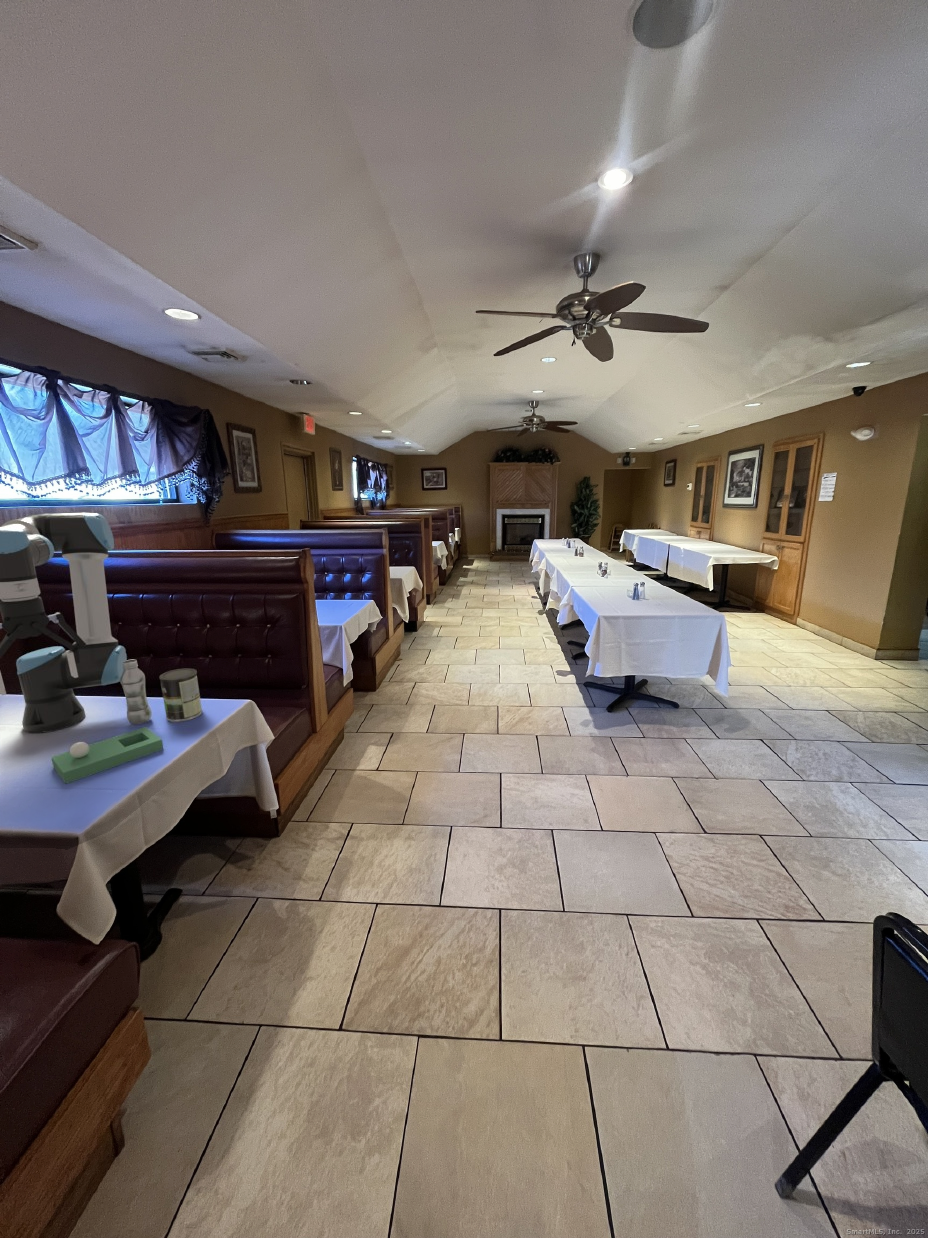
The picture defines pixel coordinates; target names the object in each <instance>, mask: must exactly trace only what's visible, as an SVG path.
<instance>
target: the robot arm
mask: <svg viewBox="0 0 928 1238" xmlns="http://www.w3.org/2000/svg"><path fill="white" fill-rule="evenodd" d="M114 548H115V538H114V535H113V531H112V529H111V526H110V524H109V523H108V520H107V519H106V517H104V515H102V514H100V513H96V512H65V513H39V514H33V515H32V514H31V515H29V516H23V517H20V518H15V519H10V520H8V521H6V522H5V523H3V524H2V525H1V526H0V615H1V623H0V630H1V629H3V630H4V631H5V632H7V633H6V634H5V635H4V637H3V639H2V640H1V641H0V660H1V659H2V658H3V656H4V655H5V653H6V652H7V651H8V650H9V648H10V647H11V645H12V644H13V643H15V642H16V640H17V639H21V640H23V639H24V640H25V639H27V638H30V637H31V638H35V637H39V636H40V635H42V634H44V635H45V636H47V637H49V638H51V639H52V640H54V641H56V642H57V643H59V644H60V646H58V645H57V646H50V647H45V648H41V649H37V650H34V651H31V652H27V653H26V654H24V655H22V656H20V657H19V658H17V659H16V663H15V664H16V669H17V671H16V673H17V676H18V680H19V684H20V687H21V691H22V696H23V699H24V703H25V704H24V705H25V707H24V712H23V716H22V721H21V722H22V724H21V725H22V728H23V731H24V732H26V733H29V734H30V733H32V734H40V733H41V734H42V733H49V732H54V731H57V730H61V729H65V728H68V727H71V726H72V725H75V724H77V723H79V722H81V721H83V720H84V718H85V717H86V713H85V708H84V706H83V705H82V703H81V702H80V701H79V700H78V698H77V697H76V695H75V693H74V689H79V688H80V689H81V688H88V687H97V686H106V685H111V684H116V683H119V682H121V681H120V678H121V675H122V673H123V672H124V670H125V669H123V662H124V661H127V659H128V656H127V653H126V651H127V650H126V648H125V647H124V646H123V645H119V640H118V639H117V638H115V637H113V635H112V630H111V622H110V612H109V603H108V594H107V593H108V592H107V584H106V575H105V574H106V573H105V565H104V561H106V560H107V558H108V557H109V551H112V550H114ZM57 552H58V553H59V552H60V553H61V556H62V558H63V559H65V560H66V561H67V562H68V564H69V574H70V581H71V583H70V584H71V590H72V599H73V607H74V608H73V609H74V618H75V626H76V627H75V628H76V631H75V630H74V629H73V628H72V627H71V626H70V625H69V624H68V623H67V622H66V620H65V617H64V614H62V613H61V612H58V611H57V612H55V613H54V614H49V615H47V614H46V612H45V607H44V602H43V599H42V597H41V596H39V595H40V594H41V588H40V587H39V586H40V585H39V581H38V577H37V572H36V567H37V566H42V565H44V564H45V563H47V562H49V561H50V560H51V559H52V558H53V557H54V554H55V553H57ZM50 621H51V622H53V623H54V624H57V625H58V626H59V627H60V628H61V629H62V630H63V631H64V632H65V633H66V634H67V635H68V636H69V637H70V638H71V639H72V641H74V642H73V643H71V642H70V641H68V640H66V639H64V638H63V637H61V636H60V635H58V634H56V633H54V632H53V631H51V630H50V629H48V628H46V627H47V625H48V624H49V622H50ZM61 645H62V646H61ZM63 646H64V647H66V648H68V649H69V650H66V648H64V647H63ZM0 695H1V696H6V695H7V691H6V688H5V684H4V680H3V676H2V673H1V671H0Z"/></svg>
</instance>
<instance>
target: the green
mask: <svg viewBox="0 0 928 1238" xmlns="http://www.w3.org/2000/svg"><path fill="white" fill-rule="evenodd" d="M88 746H89V752H88V753H87V755H85V756H84V757H81V758H75V757H73V756H72V755H71V754H70V750H69V751H66V752H63V753H58V754H57V755H53V756H51V757H50V758H51V762H52V765H53V768H54V770H55V771H56V773H57V774H58V775H59V777H60V778H61V780H63V782H64V784H66V785H67V784H68V783H73V782H75V781H78V780H82V779H84V778H87V777H89V776H91V775H92V776H93V775H95V774H98V773H101V772H104V771H106V770H109V769H111V768H114V767H117V766H120V765H123V764H126V763H128V762H131V761H134V760H137V759H139V758H143V757H145V756H148V755H151V754H153V753H157V752H159V751H162V750H164V745H163V740H162V738H161V737H160V736H158V735H157V734H155V732H153V731H152V730H150V729H149V728H148V727H147V726H145V727H142V728H141V727H140V728H139V729H135V730H132V731H129V732H126V733H123V734H119V735H117V736H113V737H110V738H107V739H103V740H101V741H97V742H94V743H91V744H88Z"/></svg>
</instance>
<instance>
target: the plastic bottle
mask: <svg viewBox="0 0 928 1238" xmlns="http://www.w3.org/2000/svg"><path fill="white" fill-rule="evenodd" d="M138 666H139V665H138V661H137V659H128V660H127V661H124V662H123V669H125V670H124V672H123V673H122V675H121V678H120V681H119V682H120V684H121V686H122V689H123V693H124V695H125V700H126V701H125V702H126V719H127V721H128V722H129V724H131V725H142V724H145V723H147V722H149V721H150V720H151V718H152V709H151V707H150V705H149V702H148V698H147V691H146V676H145V673H144V672H143V671H142V670H141V669H140V668H138Z"/></svg>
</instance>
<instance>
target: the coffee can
mask: <svg viewBox="0 0 928 1238" xmlns="http://www.w3.org/2000/svg"><path fill="white" fill-rule="evenodd" d="M197 674H198V671H197V669H195V668H188V667H187V668H177V669H173V670H168V671H165V672H164V673H162V674H160V675H159V676H158V677H159V680H160V687H161V692H162V693H161V694H162V699H163V704H164V711H165V719H166V721H168V722H172V723H174V722H175V723H177V722H178V723H179V722H185V721H190V720H193V719H195V718H197V717H199V716H200V715H202V714H203V710H202V709H203V708H202V703H201V695H200V688H199V681H198V676H197Z"/></svg>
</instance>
